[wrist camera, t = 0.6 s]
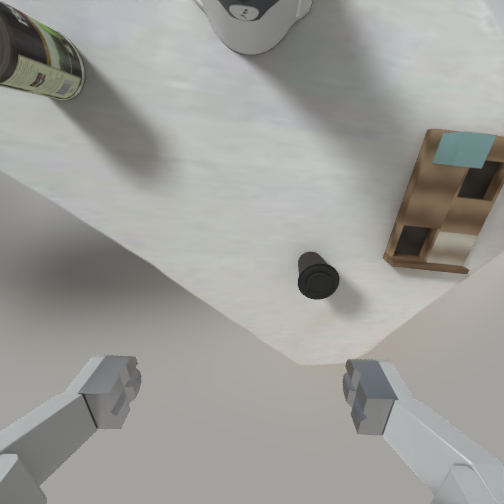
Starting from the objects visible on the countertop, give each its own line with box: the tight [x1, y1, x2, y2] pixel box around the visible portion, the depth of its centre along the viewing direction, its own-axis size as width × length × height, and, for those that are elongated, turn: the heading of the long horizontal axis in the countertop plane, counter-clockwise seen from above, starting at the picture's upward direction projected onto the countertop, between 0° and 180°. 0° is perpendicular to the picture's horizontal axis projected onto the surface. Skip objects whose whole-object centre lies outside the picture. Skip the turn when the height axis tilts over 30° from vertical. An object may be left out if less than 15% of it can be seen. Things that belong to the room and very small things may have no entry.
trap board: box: [383, 129, 504, 274], centre depth 49 cm, size 26×16×4 cm, turn 174°
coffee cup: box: [298, 252, 339, 299], centre depth 52 cm, size 8×8×10 cm
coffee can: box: [0, 1, 85, 100], centre depth 36 cm, size 10×10×14 cm
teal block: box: [433, 132, 497, 169], centre depth 42 cm, size 5×5×5 cm
